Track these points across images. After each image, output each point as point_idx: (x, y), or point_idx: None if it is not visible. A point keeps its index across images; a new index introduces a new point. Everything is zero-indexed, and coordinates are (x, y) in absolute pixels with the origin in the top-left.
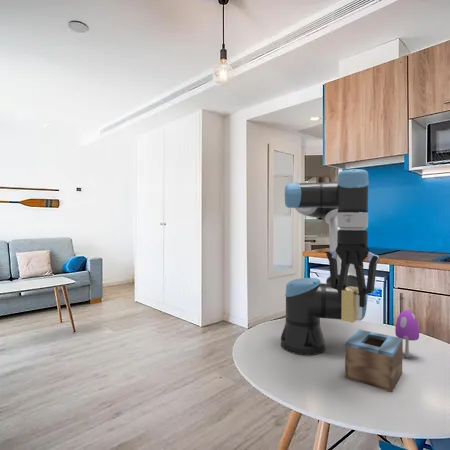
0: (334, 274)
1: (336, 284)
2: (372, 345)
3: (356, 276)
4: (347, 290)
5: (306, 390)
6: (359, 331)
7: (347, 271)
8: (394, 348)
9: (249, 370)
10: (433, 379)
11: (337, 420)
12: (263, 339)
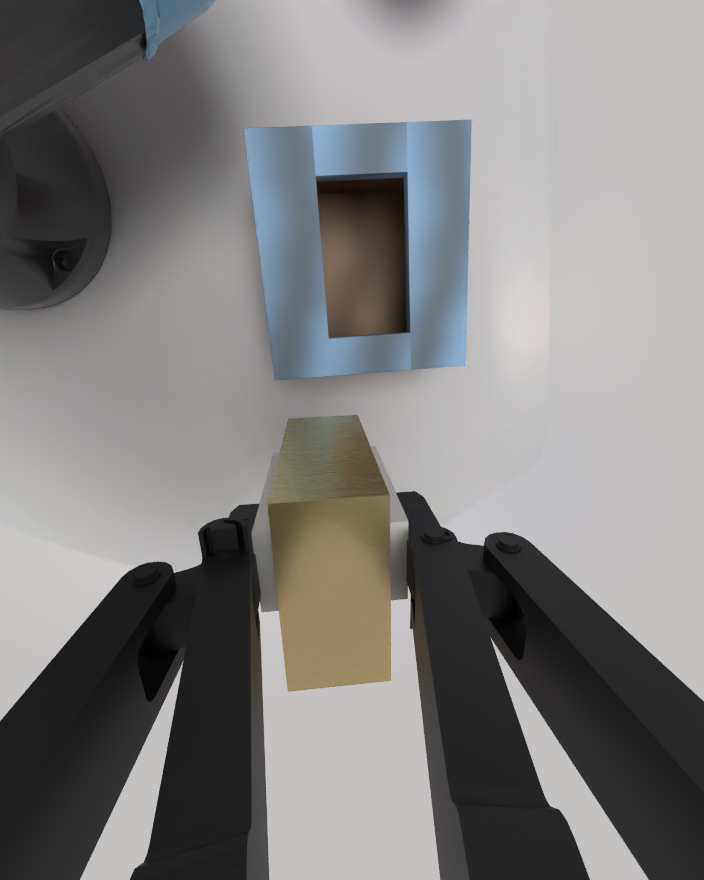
0: (118, 794)
1: (174, 637)
2: (379, 337)
3: (428, 767)
4: (336, 679)
5: (243, 504)
6: (260, 170)
7: (253, 754)
8: (462, 305)
9: (49, 525)
10: (518, 156)
11: None
12: None
